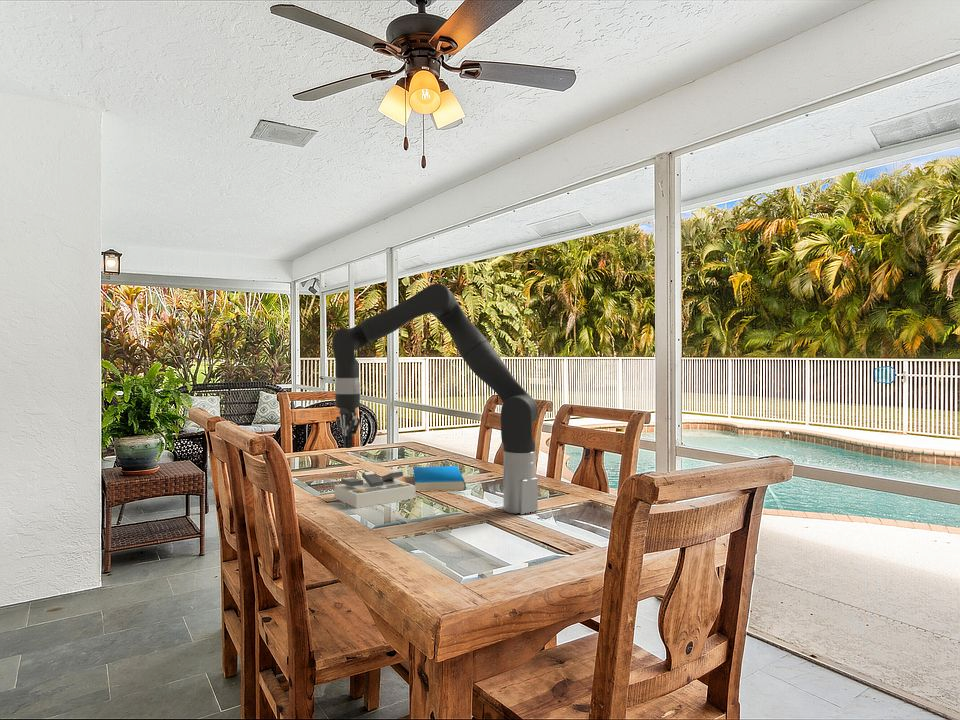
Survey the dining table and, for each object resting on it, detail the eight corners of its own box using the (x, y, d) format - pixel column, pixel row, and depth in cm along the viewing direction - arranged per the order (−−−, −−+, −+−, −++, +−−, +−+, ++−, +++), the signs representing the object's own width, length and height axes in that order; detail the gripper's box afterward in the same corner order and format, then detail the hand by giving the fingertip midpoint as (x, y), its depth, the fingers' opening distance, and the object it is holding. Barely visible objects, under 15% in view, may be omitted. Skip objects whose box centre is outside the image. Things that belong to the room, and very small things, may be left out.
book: (414, 481, 196) (412, 466, 221) (414, 494, 196) (412, 477, 221) (466, 479, 198) (458, 464, 223) (466, 492, 198) (458, 476, 223)
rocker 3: (403, 475, 191) (402, 471, 191) (392, 477, 188) (391, 472, 189) (393, 479, 196) (392, 474, 196) (382, 481, 193) (381, 476, 194)
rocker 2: (383, 485, 187) (383, 480, 186) (371, 487, 184) (372, 482, 184) (373, 475, 192) (373, 470, 192) (361, 476, 190) (362, 472, 189)
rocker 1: (363, 484, 182) (363, 479, 182) (351, 486, 180) (350, 481, 180) (353, 481, 188) (353, 477, 188) (341, 483, 185) (341, 478, 185)
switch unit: (415, 498, 186) (415, 484, 186) (356, 508, 174) (356, 493, 174) (390, 489, 199) (390, 476, 199) (334, 497, 187) (334, 483, 187)
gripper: (368, 392, 183) (368, 449, 183) (349, 390, 193) (350, 444, 194) (345, 393, 178) (345, 451, 178) (327, 391, 189) (328, 446, 189)
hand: (348, 447), depth 186 cm, fingers closed
